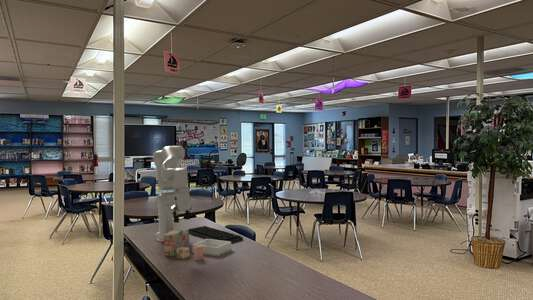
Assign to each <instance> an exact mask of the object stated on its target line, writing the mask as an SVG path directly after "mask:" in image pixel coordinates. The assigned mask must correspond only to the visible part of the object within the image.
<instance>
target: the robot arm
mask: <svg viewBox="0 0 533 300" xmlns="http://www.w3.org/2000/svg"><path fill="white" fill-rule="evenodd" d="M185 155H186V151H185V149H184V147H183V146H181V145H168V146H167V145H166V146H164V147H162V149H161V150H156V151H155V152H154V153H153V155H152V157H153V163H154V165H155V168H156V170H157V172H156V173H157V187H158V190H160V191H165V192H161V193H158V194H157V196H156V203H157V204H156V205H157V212H158V213H157V214H158V232H156V233H155V236H157V238H156V241H157V242H160V243H162V242H163V243H164V235H165V234H167V233H169V232H170V231H172V230H175V229H174V224H175V223H180V216H179V213H180V212H184V219H185V220H191V210H192V206H193V204H192V203H191V197H190V193H189V186H188V185H189V183H188V180H189V179H188V177H189V176H188V169H187V168H184V167H177V166H178V165H179V163H180V162H181V161H182V160H184V158H185ZM176 167H177V168H176Z"/></svg>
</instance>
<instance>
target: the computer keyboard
mask: <svg viewBox="0 0 533 300" xmlns="http://www.w3.org/2000/svg"><path fill="white" fill-rule="evenodd" d="M185 231H189V236H190V235H191V236H193V237H196V238H200V239H202V240H205V239H213V240H221V241H229V242H231V244H234V243H237V242H242V241H244V237H243V236H242V235H239V234H236V233H235V234H234V233H232V232H229V231H224V230H221V229H218V228H214V227H210V226H208V225H207V226H206V225H203V226H198V227H196V226H195V227H192V228H188V229H187V230H185ZM241 240H242V241H241Z"/></svg>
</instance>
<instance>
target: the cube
mask: <svg viewBox="0 0 533 300" xmlns="http://www.w3.org/2000/svg"><path fill="white" fill-rule="evenodd" d="M190 256H191V255H190V247H189V246H188V247H180V248H178V249H177V255H176V259H186V258H189V257H190Z"/></svg>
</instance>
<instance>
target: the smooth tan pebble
mask: <svg viewBox="0 0 533 300" xmlns="http://www.w3.org/2000/svg"><path fill="white" fill-rule="evenodd" d="M203 260H204V255H203V246H194V253H193V261H195V262H200V261H203Z"/></svg>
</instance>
